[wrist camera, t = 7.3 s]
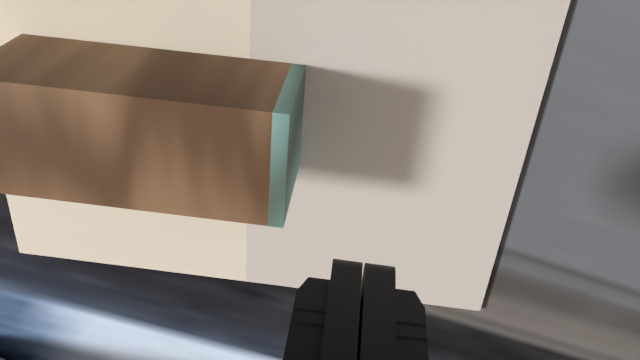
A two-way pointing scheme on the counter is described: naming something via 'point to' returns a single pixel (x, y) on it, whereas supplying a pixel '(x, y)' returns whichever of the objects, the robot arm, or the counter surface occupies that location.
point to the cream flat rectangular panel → (335, 136)
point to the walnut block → (150, 129)
